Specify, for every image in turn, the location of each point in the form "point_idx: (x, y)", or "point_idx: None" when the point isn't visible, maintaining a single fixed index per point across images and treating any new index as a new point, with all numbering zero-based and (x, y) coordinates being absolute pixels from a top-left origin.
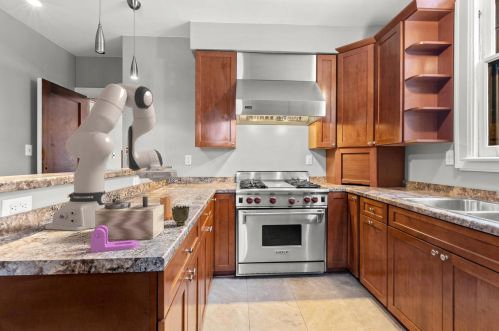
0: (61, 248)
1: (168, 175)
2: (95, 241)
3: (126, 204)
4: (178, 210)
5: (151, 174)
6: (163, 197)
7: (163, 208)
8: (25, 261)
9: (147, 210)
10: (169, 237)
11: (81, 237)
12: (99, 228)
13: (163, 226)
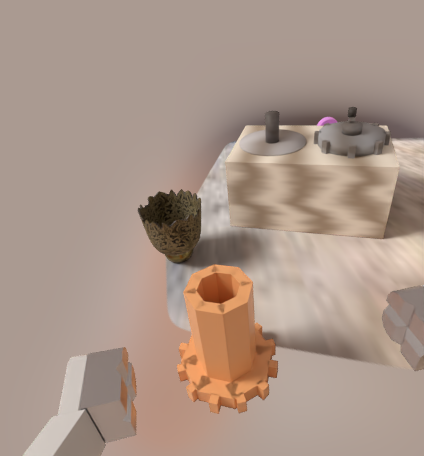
0: (401, 162)
1: (132, 421)
2: None
3: (321, 129)
4: (181, 195)
5: (410, 290)
6: (232, 299)
7: (226, 171)
8: (407, 138)
9: (258, 126)
10: (216, 187)
11: (419, 198)
12: (328, 119)
13: (230, 217)
